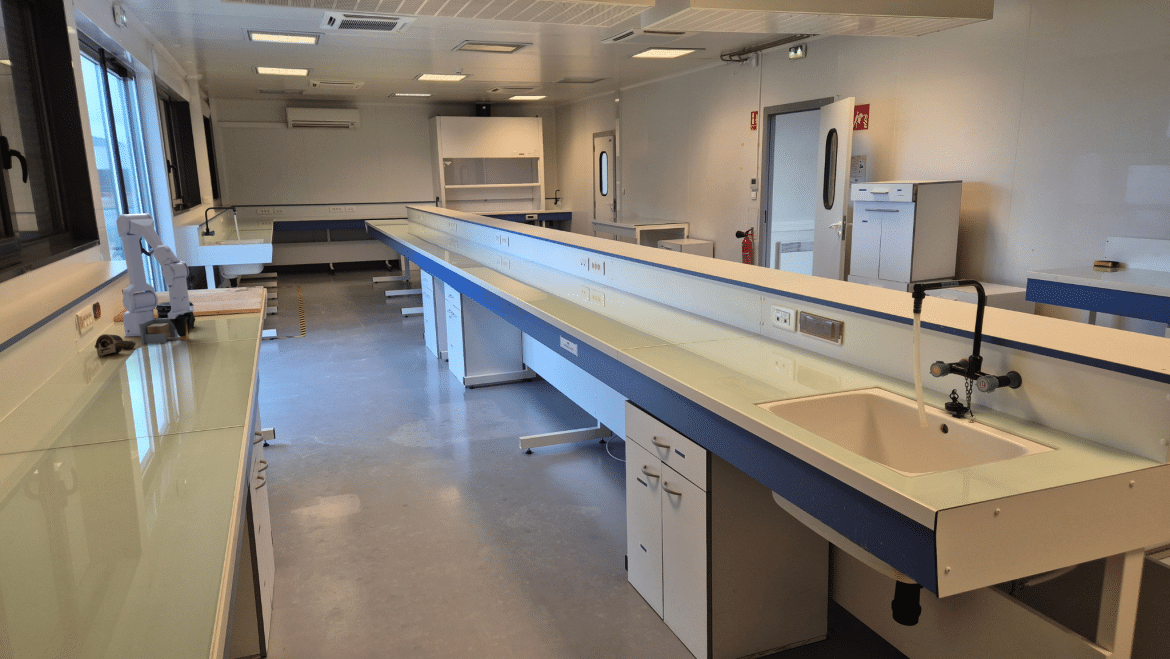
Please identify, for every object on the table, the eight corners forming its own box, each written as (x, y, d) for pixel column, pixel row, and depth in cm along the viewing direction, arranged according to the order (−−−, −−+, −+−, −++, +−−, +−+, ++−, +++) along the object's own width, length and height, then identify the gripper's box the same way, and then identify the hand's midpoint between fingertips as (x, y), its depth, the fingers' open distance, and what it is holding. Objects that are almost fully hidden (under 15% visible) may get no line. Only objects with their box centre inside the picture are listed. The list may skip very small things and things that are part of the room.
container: (203, 325, 285) (200, 299, 283) (182, 332, 272) (179, 305, 270) (172, 325, 286) (169, 300, 284) (150, 332, 273) (146, 305, 271)
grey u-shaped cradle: (141, 343, 253) (139, 324, 252) (156, 337, 263) (153, 318, 261) (164, 343, 254) (161, 323, 252) (178, 337, 263) (175, 318, 262)
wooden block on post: (148, 342, 256) (146, 325, 254) (156, 338, 260) (153, 322, 259) (184, 340, 256) (182, 324, 255) (191, 337, 261) (188, 321, 260)
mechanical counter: (83, 339, 236) (100, 335, 232) (122, 328, 247) (139, 324, 243) (92, 360, 238) (109, 356, 233) (130, 348, 249) (147, 344, 244)
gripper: (180, 300, 249) (186, 339, 251) (200, 293, 263) (205, 330, 266) (159, 300, 248) (165, 340, 251) (180, 294, 262) (185, 331, 265)
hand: (184, 335), depth 258 cm, fingers closed on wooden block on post, 2 cm apart
